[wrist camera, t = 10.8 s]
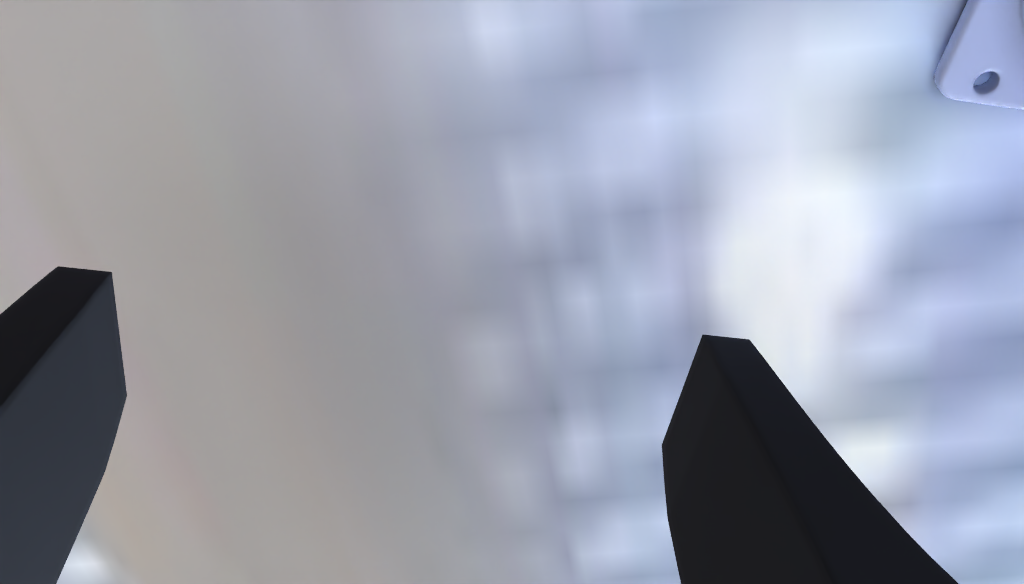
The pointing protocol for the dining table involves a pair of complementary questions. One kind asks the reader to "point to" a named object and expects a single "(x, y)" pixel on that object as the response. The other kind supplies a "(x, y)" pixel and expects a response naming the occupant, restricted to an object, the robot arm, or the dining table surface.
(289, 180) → the dining table surface
